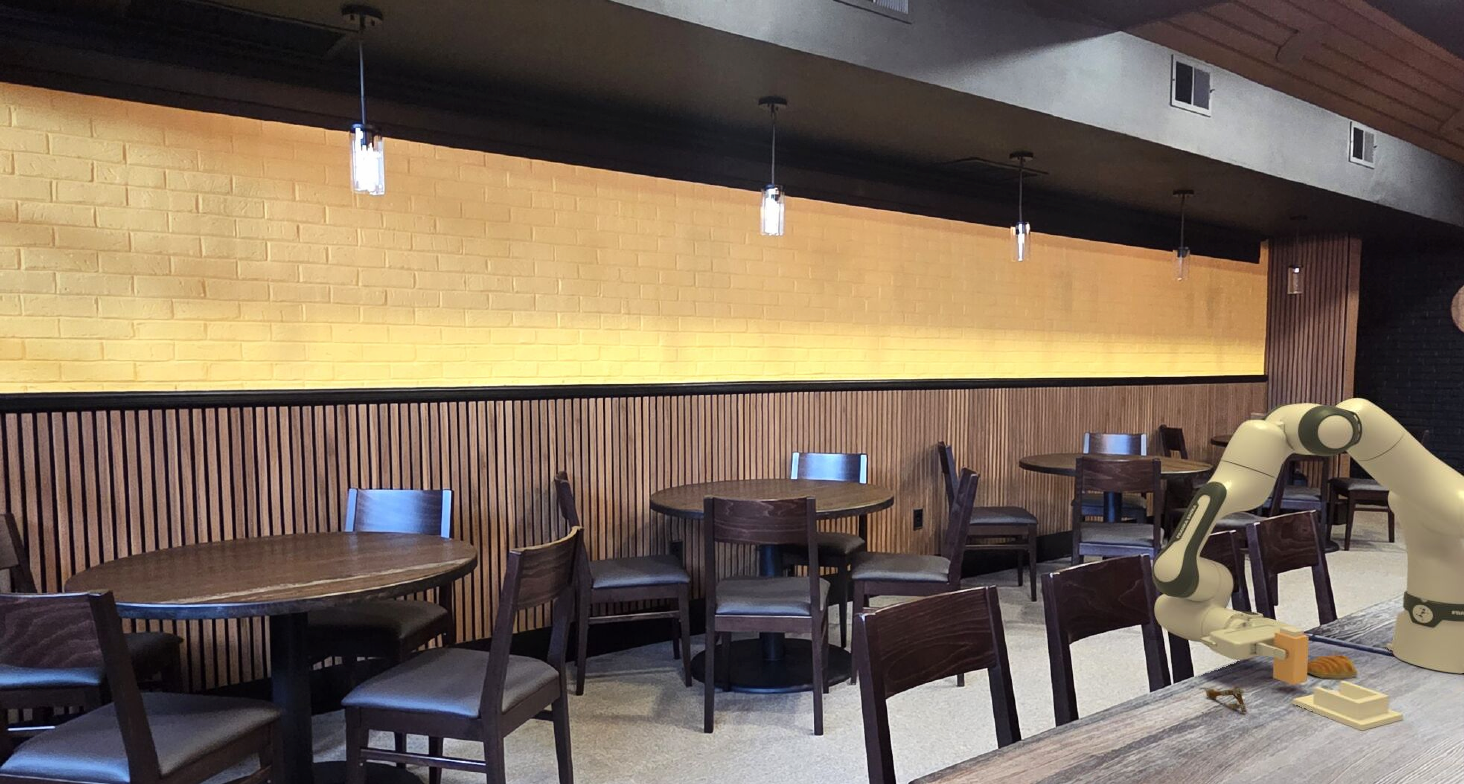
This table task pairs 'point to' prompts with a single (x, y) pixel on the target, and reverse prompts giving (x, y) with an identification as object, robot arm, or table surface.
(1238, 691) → the wooden post with brackets
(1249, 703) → the table surface
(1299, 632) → the block
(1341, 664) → the pastry
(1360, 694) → the holder
